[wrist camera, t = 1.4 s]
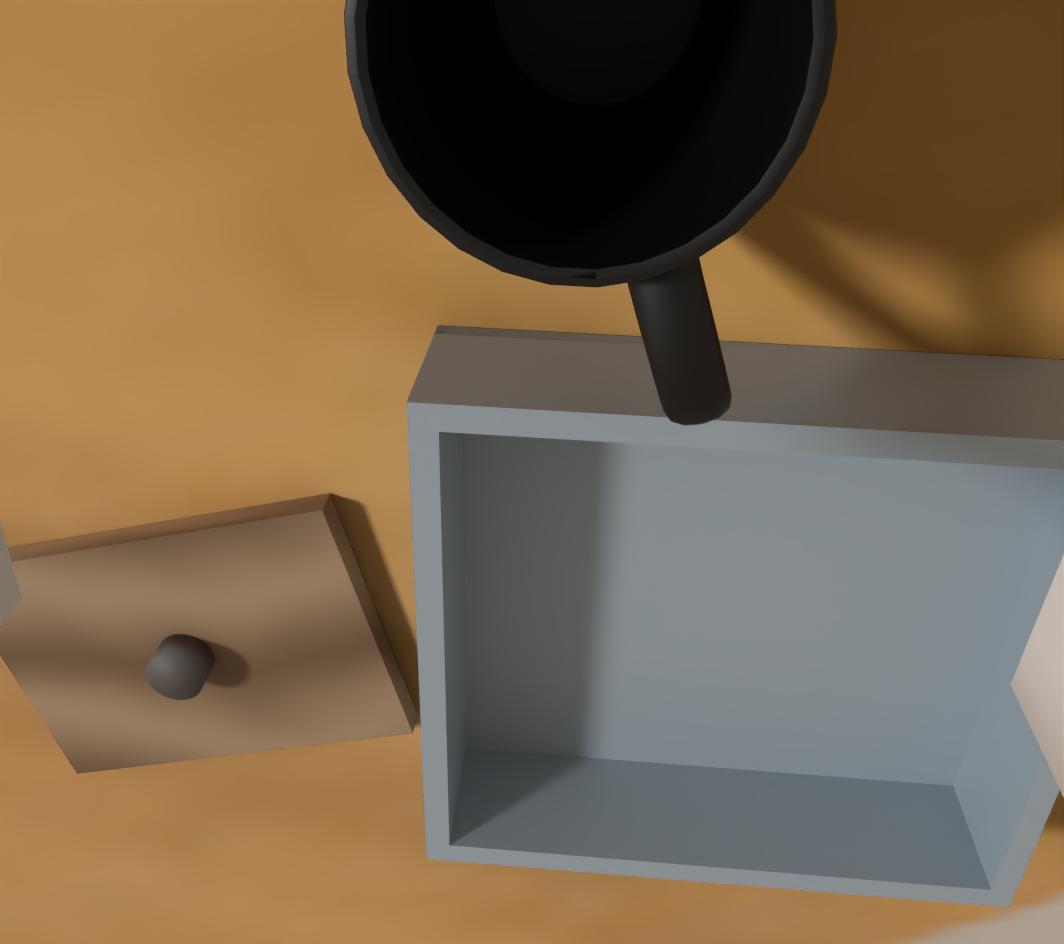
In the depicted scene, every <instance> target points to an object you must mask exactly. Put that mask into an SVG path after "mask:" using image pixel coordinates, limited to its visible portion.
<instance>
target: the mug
mask: <svg viewBox="0 0 1064 944" xmlns="http://www.w3.org/2000/svg"><path fill="white" fill-rule="evenodd" d="M344 22H345V38H346V54H347V70H348V76H349V79H350V83H351V87H352V90H353V94H354V98H355V101H356V105H357V109H358V112H359V116H360V120H361V123H362V127H363V129H364V131H365V133H366V135H367V137H368V139H369V141H370V143H371V145H372V147H373V149H374V151H375V153H376V155H377V157H378V159H379V161H380V163H381V165H382V166H383V168H384V170H385V172H386V174H387V176H388V177H389V178H390V180H391V181H392V182H393V183H394V185H395V186H396V187H397V189H398V190H399V191H400V192H401V194H402V195H403V196H404V197H405V199H406V200H407V201H408V202H409V204H410V205H411V206H412V207H413V209H414V210H415V211H416V212H417V214H418V215H419V216H420V217H421V218H422V219H423V220H424V221H426V222H427V223H428V224H429V225H431V226H432V227H433V228H434V229H435V230H437V231H438V232H439V233H440V234H441V235H443V236H444V237H445V238H446V239H447V240H449V241H450V242H451V243H452V244H453V245H455V246H456V247H457V248H458V249H460V250H462V251H464V252H466V253H468V254H470V255H471V256H473V257H475V258H477V259H479V260H481V261H483V262H485V263H487V264H489V265H491V266H492V267H494V268H496V269H498V270H500V271H502V272H505V273H509V274H513V275H516V276H520V277H524V278H527V279H531V280H534V281H538V282H542V283H545V284H549V285H566V286H584V287H602V286H609V285H615V284H621V283H628V287H629V290H630V294H631V298H632V302H633V305H634V309H635V313H636V317H637V320H638V324H639V328H640V331H641V335H642V339H643V342H644V346H645V349H646V353H647V357H648V360H649V364H650V368H651V371H652V375H653V378H654V382H655V385H656V389H657V392H658V396H659V399H660V403H661V406H662V409H663V412H664V413H665V414H666V416H667V417H668V418H669V420H670V421H671V422H674V423H678V424H681V425H684V426H687V425H699V424H704V423H707V422H710V421H713V420H715V419H718V418H720V417H721V416H722V415H723V414H724V413H725V412H727V411H728V410H729V409H730V405H731V399H732V394H731V389H730V385H729V380H728V376H727V372H726V367H725V363H724V359H723V355H722V351H721V346H720V342H719V338H718V334H717V330H716V326H715V322H714V318H713V314H712V310H711V306H710V302H709V298H708V294H707V290H706V285H705V281H704V277H703V273H702V269H701V264H700V260H699V257H700V256H702V255H703V254H705V253H706V252H708V251H709V250H711V249H713V248H714V247H716V246H717V245H719V244H720V243H722V242H723V241H725V240H726V239H728V238H729V237H731V236H732V235H734V234H735V233H737V232H738V231H739V230H740V229H741V228H742V227H743V226H744V225H745V224H746V223H747V222H748V221H749V220H750V219H751V218H752V217H753V216H754V215H755V214H756V213H757V212H758V211H759V210H760V209H761V208H762V207H763V206H764V205H765V204H766V203H767V202H768V201H769V200H770V199H771V198H772V197H773V196H774V195H775V194H776V192H777V191H778V189H779V188H780V186H781V184H782V183H783V181H784V180H785V178H786V177H787V175H788V174H789V172H790V171H791V169H792V168H793V166H794V165H795V163H796V162H797V160H798V159H799V157H800V156H801V154H802V153H803V151H804V149H805V148H806V145H807V143H808V140H809V138H810V135H811V133H812V130H813V128H814V125H815V123H816V120H817V118H818V115H819V113H820V110H821V108H822V105H823V103H824V100H825V98H826V95H827V91H828V85H829V79H830V73H831V68H832V62H833V56H834V50H835V44H836V39H837V18H836V0H346V4H345V11H344Z"/></svg>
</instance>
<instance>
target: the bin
mask: <svg viewBox="0 0 1064 944" xmlns="http://www.w3.org/2000/svg"><path fill="white" fill-rule="evenodd" d="M719 342H720V346H721V351H722V355H723V359H724V363H725V367H726V372H727V376H728V380H729V385H730V389H731V394H732V399H731V405H730V409H729V410H728V411H727V412H725V413H724V414H723V415H722V416H721V417H720V418H718V419H715V420H713V421H710V422H707V423H704V424H699V425H687V426H684V425H681V424H678V423H674V422H671V421H670V420H669V418H668V417H667V416H666V414H665V413H664V412H663V409H662V406H661V403H660V399H659V396H658V392H657V389H656V385H655V382H654V378H653V375H652V371H651V368H650V364H649V360H648V357H647V353H646V349H645V346H644V342H643V339H642V337H638V336H620V335H601V334H583V333H565V332H546V331H528V330H510V329H491V328H473V327H455V326H438V327H437V329H436V331H435V334H434V336H433V339H432V341H431V344H430V346H429V349H428V351H427V354H426V356H425V359H424V361H423V363H422V366H421V368H420V371H419V373H418V376H417V378H416V381H415V383H414V386H413V388H412V390H411V393H410V395H409V398H408V400H407V420H408V443H409V466H410V489H411V512H412V535H413V558H414V581H415V604H416V626H417V649H418V672H419V695H420V718H421V741H422V764H423V787H424V810H425V833H426V856H427V859H433V860H445V861H457V862H469V863H481V864H493V865H505V866H517V867H529V868H541V869H553V870H565V871H577V872H589V873H601V874H613V875H625V876H638V877H650V878H662V879H674V880H686V881H698V882H710V883H722V884H734V885H746V886H758V887H770V888H782V889H794V890H806V891H818V892H830V893H842V894H854V895H866V896H878V897H890V898H902V899H914V900H926V901H938V902H950V903H962V904H974V905H986V906H998V907H1010V905H1011V902H1012V900H1013V898H1014V895H1015V893H1016V891H1017V888H1018V886H1019V884H1020V881H1021V879H1022V877H1023V874H1024V872H1025V870H1026V867H1027V865H1028V863H1029V860H1030V858H1031V856H1032V853H1033V851H1034V849H1035V847H1036V844H1037V842H1038V840H1039V837H1040V835H1041V833H1042V830H1043V828H1044V826H1045V823H1046V821H1047V819H1048V816H1049V814H1050V812H1051V809H1052V807H1053V805H1054V802H1055V800H1056V798H1057V795H1058V793H1059V791H1060V789H1059V787H1058V784H1057V782H1056V780H1055V778H1054V776H1053V774H1052V772H1051V770H1050V768H1049V765H1048V763H1047V761H1046V759H1045V757H1044V755H1043V753H1042V751H1041V748H1040V746H1039V744H1038V742H1037V740H1036V738H1035V736H1034V734H1033V732H1032V729H1031V727H1030V725H1029V723H1028V721H1027V719H1026V717H1025V715H1024V713H1023V710H1022V708H1021V706H1020V704H1019V702H1018V700H1017V698H1016V696H1015V693H1014V691H1013V689H1012V687H1011V685H1010V684H1011V682H1012V680H1013V677H1014V675H1015V672H1016V670H1017V667H1018V665H1019V662H1020V660H1021V657H1022V655H1023V653H1024V650H1025V648H1026V645H1027V643H1028V640H1029V638H1030V635H1031V633H1032V631H1033V628H1034V626H1035V623H1036V621H1037V618H1038V616H1039V613H1040V611H1041V609H1042V606H1043V604H1044V601H1045V599H1046V596H1047V594H1048V591H1049V589H1050V587H1051V584H1052V582H1053V579H1054V577H1055V574H1056V572H1057V569H1058V567H1059V565H1060V562H1061V560H1062V557H1063V555H1064V360H1059V359H1041V358H1023V357H1004V356H986V355H968V354H949V353H931V352H913V351H894V350H876V349H858V348H839V347H821V346H803V345H784V344H766V343H748V342H730V341H719Z"/></svg>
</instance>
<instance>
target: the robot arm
mask: <svg viewBox="0 0 1064 944" xmlns="http://www.w3.org/2000/svg"><path fill="white" fill-rule="evenodd" d="M21 599H22V597H21V593H20V590H19V586H18V583H17V579H16V576H15V572H14V569H13V565H12V561H11V558H10V554H9V551H8V547H7V544H6V540H5V537H4V533H3V529H2V526H1V522H0V625H1V624H2V622H3V621H4V620H5V619H6V617H7V616H8V615H9V614H10V613H11V611H12V610H13V609H14V608H15V606H16V605H17V604H18V603H19V601H20V600H21ZM1010 685H1011V687H1012V689H1013V691H1014V693H1015V696H1016V698H1017V700H1018V702H1019V704H1020V706H1021V708H1022V710H1023V713H1024V715H1025V717H1026V719H1027V721H1028V723H1029V725H1030V727H1031V729H1032V732H1033V734H1034V736H1035V738H1036V740H1037V742H1038V744H1039V746H1040V748H1041V751H1042V753H1043V755H1044V757H1045V759H1046V761H1047V763H1048V765H1049V768H1050V770H1051V772H1052V774H1053V776H1054V778H1055V780H1056V782H1057V784H1058V787H1059V789H1060V791H1061V793H1062V795H1063V797H1064V555H1063V557H1062V560H1061V562H1060V565H1059V567H1058V569H1057V572H1056V574H1055V577H1054V579H1053V582H1052V584H1051V587H1050V589H1049V591H1048V594H1047V596H1046V599H1045V601H1044V604H1043V606H1042V609H1041V611H1040V613H1039V616H1038V618H1037V621H1036V623H1035V626H1034V628H1033V631H1032V633H1031V635H1030V638H1029V640H1028V643H1027V645H1026V648H1025V650H1024V653H1023V655H1022V657H1021V660H1020V662H1019V665H1018V667H1017V670H1016V672H1015V675H1014V677H1013V680H1012V682H1011V684H1010Z"/></svg>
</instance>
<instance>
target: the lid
mask: <svg viewBox="0 0 1064 944" xmlns="http://www.w3.org/2000/svg"><path fill="white" fill-rule="evenodd" d="M8 551H9V554H10V558H11V561H12V565H13V569H14V572H15V576H16V579H17V583H18V586H19V590H20V593H21V597H22V599H21V600H20V601H19V603H18V604H17V605H16V606H15V608H14V609H13V610H12V611H11V613H10V614H9V615H8V616H7V617H6V619H5V620H4V621H3V622H2V624H1V625H0V656H1V657H2V659H3V660H4V662H5V663H6V665H7V666H8V668H9V670H10V671H11V673H12V674H13V676H14V677H15V679H16V680H17V682H18V683H19V685H20V686H21V688H22V690H23V691H24V693H25V694H26V696H27V697H28V699H29V700H30V702H31V703H32V705H33V706H34V708H35V710H36V711H37V713H38V714H39V716H40V717H41V719H42V720H43V722H44V723H45V725H46V726H47V728H48V729H49V731H50V733H51V734H52V736H53V737H54V739H55V740H56V742H57V743H58V745H59V746H60V748H61V749H62V751H63V753H64V754H65V756H66V757H67V759H68V760H69V762H70V763H71V765H72V766H73V768H74V769H75V771H76V772H77V774H78V773H86V772H95V771H103V770H111V769H120V768H128V767H136V766H145V765H153V764H161V763H170V762H178V761H186V760H195V759H203V758H211V757H220V756H228V755H236V754H245V753H253V752H261V751H270V750H278V749H287V748H295V747H303V746H312V745H320V744H328V743H337V742H345V741H353V740H362V739H370V738H378V737H387V736H395V735H403V734H412V733H413V730H414V726H415V722H416V718H417V712H416V709H415V706H414V704H413V701H412V699H411V696H410V694H409V691H408V689H407V686H406V684H405V681H404V679H403V676H402V674H401V671H400V669H399V666H398V664H397V661H396V659H395V656H394V654H393V651H392V649H391V646H390V644H389V641H388V639H387V636H386V634H385V631H384V629H383V626H382V624H381V621H380V618H379V616H378V613H377V611H376V608H375V606H374V603H373V601H372V598H371V596H370V593H369V591H368V588H367V586H366V583H365V581H364V578H363V576H362V573H361V571H360V568H359V566H358V563H357V561H356V558H355V556H354V553H353V551H352V548H351V546H350V543H349V541H348V538H347V536H346V533H345V530H344V528H343V525H342V523H341V520H340V518H339V515H338V513H337V510H336V508H335V505H334V503H333V500H332V498H331V495H330V494H325V495H319V496H313V497H307V498H301V499H295V500H289V501H283V502H277V503H272V504H266V505H260V506H254V507H248V508H242V509H236V510H230V511H224V512H218V513H213V514H207V515H201V516H195V517H189V518H183V519H177V520H171V521H165V522H159V523H153V524H148V525H142V526H136V527H130V528H124V529H118V530H112V531H106V532H100V533H94V534H89V535H83V536H77V537H71V538H65V539H59V540H53V541H47V542H41V543H35V544H29V545H24V546H18V547H12V548H8Z"/></svg>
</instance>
